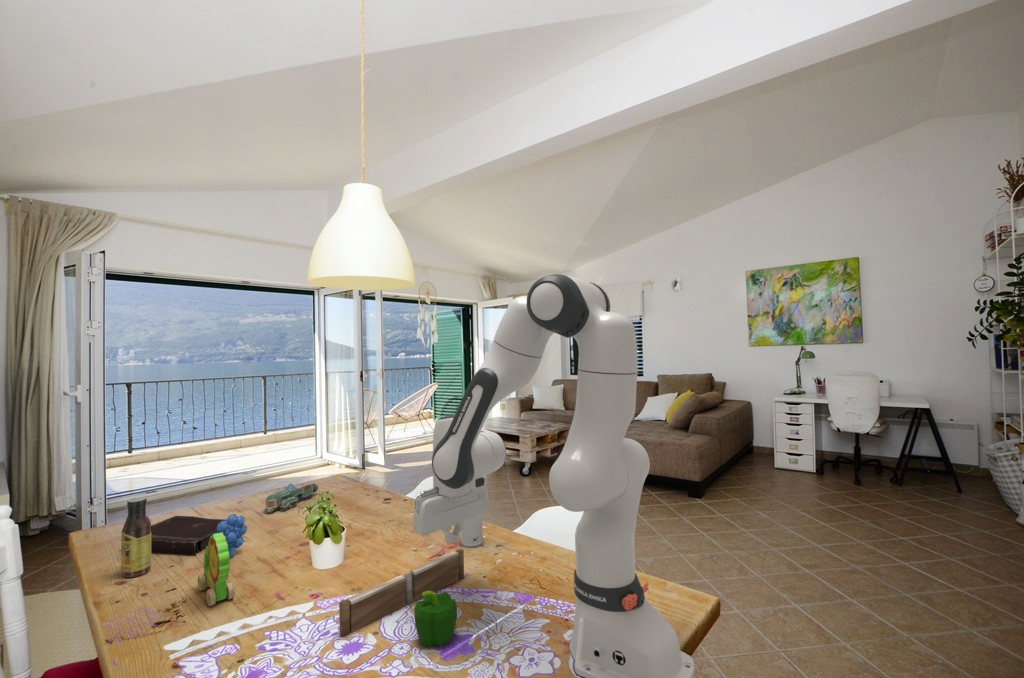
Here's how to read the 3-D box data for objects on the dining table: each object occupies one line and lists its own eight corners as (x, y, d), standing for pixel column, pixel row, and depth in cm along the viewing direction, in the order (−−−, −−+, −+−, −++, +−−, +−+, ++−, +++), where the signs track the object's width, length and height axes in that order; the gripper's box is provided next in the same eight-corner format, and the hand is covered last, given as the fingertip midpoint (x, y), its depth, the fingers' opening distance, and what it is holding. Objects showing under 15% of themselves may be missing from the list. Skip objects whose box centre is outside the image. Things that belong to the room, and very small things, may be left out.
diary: (193, 559, 134) (193, 542, 134) (122, 554, 139) (121, 537, 139) (242, 532, 152) (242, 517, 152) (178, 529, 157) (177, 514, 157)
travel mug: (480, 550, 133) (479, 480, 134) (458, 549, 134) (457, 479, 135) (486, 541, 139) (484, 474, 140) (465, 540, 141) (463, 473, 141)
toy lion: (196, 588, 116) (195, 526, 116) (221, 580, 119) (220, 520, 120) (211, 613, 104) (210, 545, 105) (238, 603, 108) (237, 537, 108)
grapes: (235, 548, 139) (235, 507, 140) (252, 550, 137) (252, 509, 137) (198, 565, 128) (197, 521, 129) (216, 568, 126) (215, 524, 126)
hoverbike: (256, 513, 170) (256, 490, 170) (309, 493, 193) (308, 473, 193) (276, 516, 166) (275, 493, 167) (327, 495, 190) (326, 474, 190)
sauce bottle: (119, 574, 124) (119, 499, 125) (148, 565, 129) (148, 493, 129) (123, 582, 120) (123, 504, 120) (153, 573, 124) (153, 498, 125)
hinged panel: (465, 577, 116) (465, 550, 117) (415, 602, 106) (415, 572, 106) (460, 574, 118) (460, 548, 118) (410, 598, 107) (410, 569, 107)
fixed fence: (414, 604, 105) (413, 574, 105) (342, 639, 93) (342, 605, 93) (409, 600, 107) (408, 571, 107) (338, 635, 94) (337, 602, 94)
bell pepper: (459, 627, 97) (458, 578, 97) (456, 652, 88) (454, 599, 89) (418, 628, 96) (417, 580, 97) (411, 655, 88) (410, 601, 88)
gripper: (423, 496, 100) (424, 561, 100) (492, 476, 115) (492, 532, 115) (406, 490, 104) (407, 552, 104) (474, 471, 119) (475, 525, 119)
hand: (452, 541), depth 109 cm, fingers closed
